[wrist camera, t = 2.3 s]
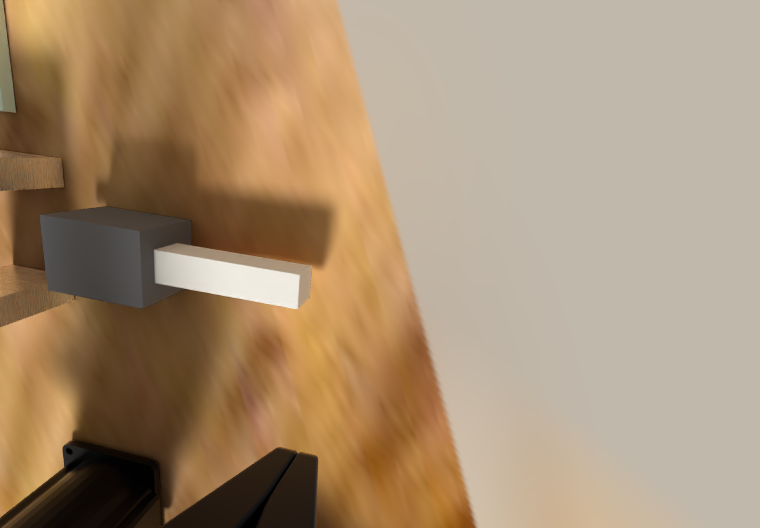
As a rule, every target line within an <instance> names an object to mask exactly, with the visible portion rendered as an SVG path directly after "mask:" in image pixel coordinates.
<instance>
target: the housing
mask: <svg viewBox="0 0 760 528" xmlns="http://www.w3.org/2000/svg"><path fill="white" fill-rule="evenodd" d="M59 187H64V179H63V169H62V158H55V157H48V156H42V155H35V154H28V153H21V152H14V151H7V150H0V191H8V190H25V189H42V188H59ZM71 301H74V295H69V294H64V293H59V292H54V291H49V290H48V289H47V280H46V271H44V270H39V269H34V268H29V267H23V266H18V265H13V264H12V265H8V266H3V267H0V327H2V326H5V325H8V324H11V323H13V322H16V321H19V320H22V319H24V318H27V317H30V316H33V315H35V314H38V313H41V312H44V311H47V310H49V309H52V308H55V307H58V306H60V305H63V304H66V303H69V302H71Z"/></svg>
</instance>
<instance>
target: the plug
mask: <svg viewBox="0 0 760 528" xmlns="http://www.w3.org/2000/svg"><path fill="white" fill-rule="evenodd" d="M39 218H40V227H41V236H42V244H43V253H44V262H45V271H46V280H47V289H48V290H49V291H54V292H59V293H64V294H69V295H74V296H79V297H84V298H90V299H95V300H100V301H105V302H110V303H115V304H120V305H125V306H131V307H136V308H141V309H144V308H146V307H148V306H150V305H152V304H154V303H157V302H159V301H161V300H163V299H165V298H167V297H169V296H171V295H173V294H176V293H178V292H180V291H182V290H184V289H190V290H196V291H201V292H206V293H212V294H217V295H223V296H228V297H233V298H239V299H244V300H250V301H255V302H261V303H266V304H271V305H277V306H282V307H288V308H293V309H298V308H299V307H300V306H301V305H302V304H303V303H305V302H306V301H307V300H308V299H309V298H310V288H311V275H312V266H311V265H305V264H299V263H293V262H287V261H281V260H275V259H269V258H263V257H257V256H251V255H245V254H239V253H233V252H227V251H221V250H215V249H209V248H203V247H197V246H192V220H188V219H182V218H176V217H169V216H163V215H157V214H150V213H144V212H138V211H131V210H125V209H119V208H112V207H106V206H105V207H97V208H89V209H81V210H73V211H65V212H57V213H48V214H40V215H39Z"/></svg>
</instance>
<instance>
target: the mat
mask: <svg viewBox="0 0 760 528" xmlns="http://www.w3.org/2000/svg"><path fill="white" fill-rule="evenodd" d="M0 111H5V112H14V113H16V107H15V99H14V90H13V82H12V73H11V65H10V56H9V48H8V40H7V31H6V23H5V14H4V6H3V0H0Z"/></svg>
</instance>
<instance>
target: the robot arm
mask: <svg viewBox="0 0 760 528" xmlns="http://www.w3.org/2000/svg"><path fill="white" fill-rule="evenodd" d="M63 458H64V468H63V469H62V470H60V471H59V472H58V473H56V474H55V475H54V476H53V477H51V478H50V479H49V480H48V481H46V482H45V483H44V484H43V485H41V486H40V487H39V488H37V489H36V490H35V491H34V492H32V493H31V494H30V495H29V496H27V497H26V498H25V499H23V500H22V501H21V502H20V503H18V504H17V505H16V506H15V507H13V508H12V509H11V510H9V511H8V512H7V513H6V514H4V515H3V516H2V517H1V518H0V528H316V503H317V475H318V457H317V456H316V455H312V454H308V453H303V452H300V453H297V452H296V451H295V450H291V449H287V448H282V447H278V448H276V449H274V450H273V451H271V452H270V453H268V454H267V455H265V456H264V457H262V458H261V459H260V460H258V461H257V462H255V463H254V464H252V465H251V466H249V467H248V468H246V469H245V470H243V471H242V472H240V473H239V474H238V475H236V476H235V477H233V478H232V479H230V480H229V481H227V482H226V483H224V484H223V485H221V486H220V487H218V488H217V489H215V490H214V491H213V492H211V493H210V494H208V495H207V496H205V497H204V498H202V499H201V500H199V501H198V502H196V503H195V504H193V505H192V506H191V507H189V508H188V509H186V510H185V511H183V512H182V513H180V514H179V515H177V516H176V517H174V518H173V519H171V520H170V521H169V522H167V523H166V524H164V525H163V526H161V516H160V487H159V467H158V465H157V463H156V462H154V461H152V460H149V459H145V458H141V457H137V456H133V455H129V454H126V453H122V452H118V451H114V450H110V449H106V448H102V447H98V446H94V445H90V444H86V443H82V442H78V441H74V440H72V441H70V442H68V443H67V444H65V445H64V446H63Z"/></svg>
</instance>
